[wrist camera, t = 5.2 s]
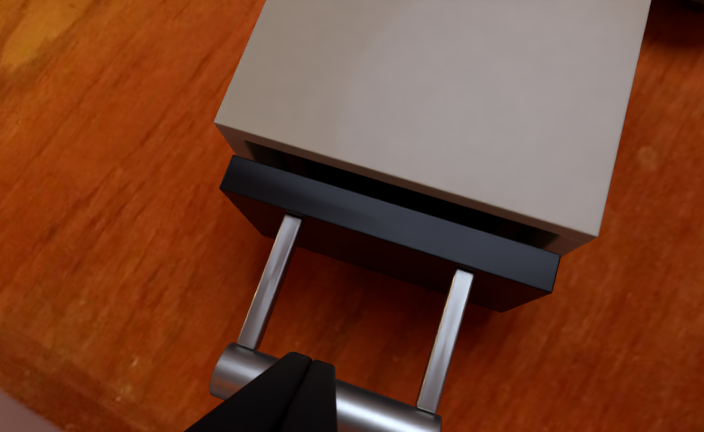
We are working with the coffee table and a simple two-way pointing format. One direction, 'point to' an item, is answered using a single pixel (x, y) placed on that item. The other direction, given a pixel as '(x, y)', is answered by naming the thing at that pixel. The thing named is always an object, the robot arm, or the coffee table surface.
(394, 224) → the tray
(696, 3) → the serving tray
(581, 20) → the grey drawer unit
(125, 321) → the coffee table surface
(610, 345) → the coffee table surface
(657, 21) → the coffee table surface
